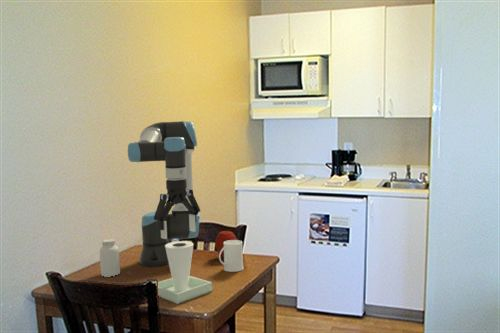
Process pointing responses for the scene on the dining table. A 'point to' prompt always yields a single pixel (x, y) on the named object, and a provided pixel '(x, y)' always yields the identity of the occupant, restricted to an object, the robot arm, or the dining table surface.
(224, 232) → the red rounded piece
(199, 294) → the tray
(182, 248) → the cup
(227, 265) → the mug
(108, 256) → the pill bottle
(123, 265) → the dining table surface
